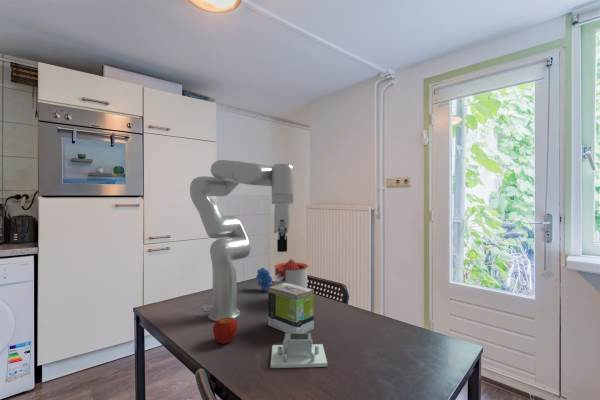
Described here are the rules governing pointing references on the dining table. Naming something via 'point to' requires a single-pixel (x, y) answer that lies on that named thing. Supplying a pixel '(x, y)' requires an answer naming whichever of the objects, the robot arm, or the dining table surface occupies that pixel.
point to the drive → (298, 345)
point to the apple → (225, 330)
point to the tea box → (291, 308)
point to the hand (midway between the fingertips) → (282, 249)
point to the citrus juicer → (291, 273)
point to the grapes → (264, 279)
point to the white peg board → (282, 361)
